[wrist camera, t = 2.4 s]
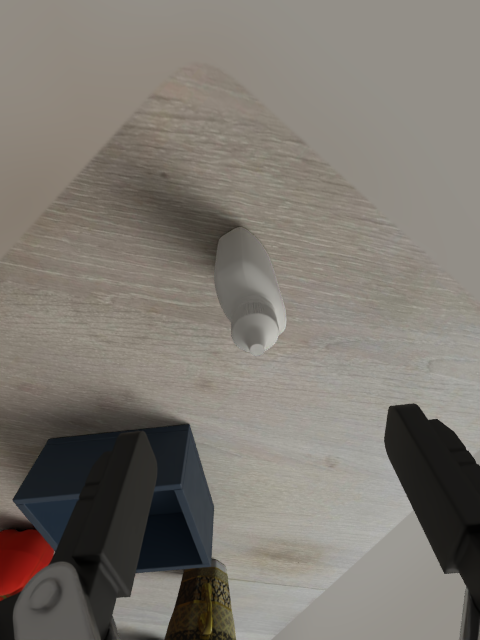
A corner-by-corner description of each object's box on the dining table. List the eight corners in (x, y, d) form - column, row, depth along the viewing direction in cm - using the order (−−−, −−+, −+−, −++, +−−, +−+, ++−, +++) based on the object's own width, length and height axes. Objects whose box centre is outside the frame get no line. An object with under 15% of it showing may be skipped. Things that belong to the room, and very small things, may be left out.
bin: (48, 438, 35) (11, 500, 29) (189, 423, 34) (180, 484, 28) (98, 517, 43) (77, 578, 37) (214, 506, 42) (211, 567, 36)
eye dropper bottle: (221, 294, 27) (213, 396, 16) (217, 225, 24) (205, 296, 13) (273, 292, 27) (299, 394, 16) (276, 224, 24) (309, 293, 13)
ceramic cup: (230, 584, 54) (229, 671, 45) (170, 580, 52) (157, 669, 44) (246, 545, 47) (249, 637, 39) (178, 539, 46) (166, 633, 37)
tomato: (-15, 517, 42) (-60, 586, 36) (55, 519, 43) (23, 588, 36) (5, 552, 47) (-32, 619, 41) (67, 554, 48) (41, 620, 41)
